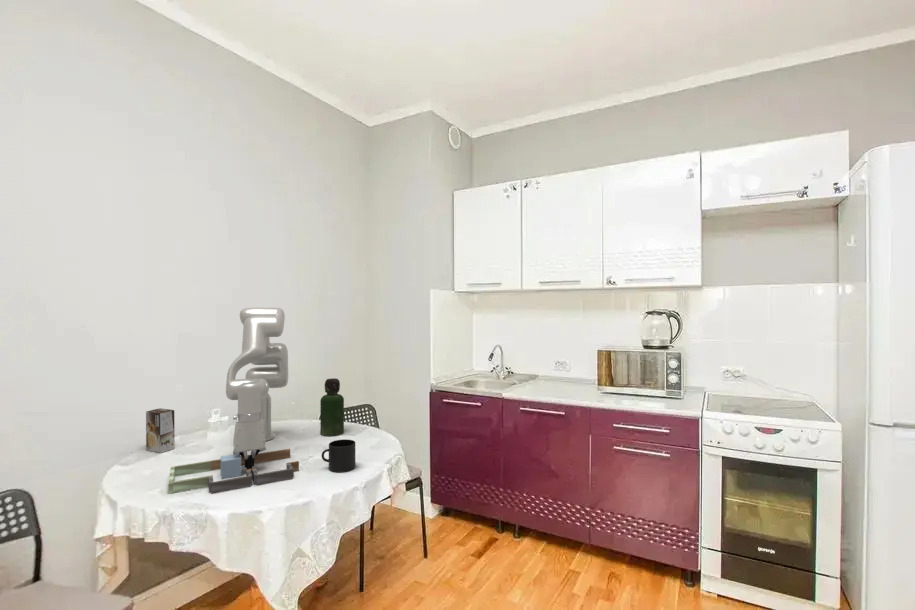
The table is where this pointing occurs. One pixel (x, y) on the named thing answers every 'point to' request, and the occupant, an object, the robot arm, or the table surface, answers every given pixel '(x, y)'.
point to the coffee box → (160, 430)
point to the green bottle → (332, 409)
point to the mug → (341, 455)
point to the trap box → (235, 482)
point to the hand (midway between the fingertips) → (249, 468)
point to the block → (230, 466)
